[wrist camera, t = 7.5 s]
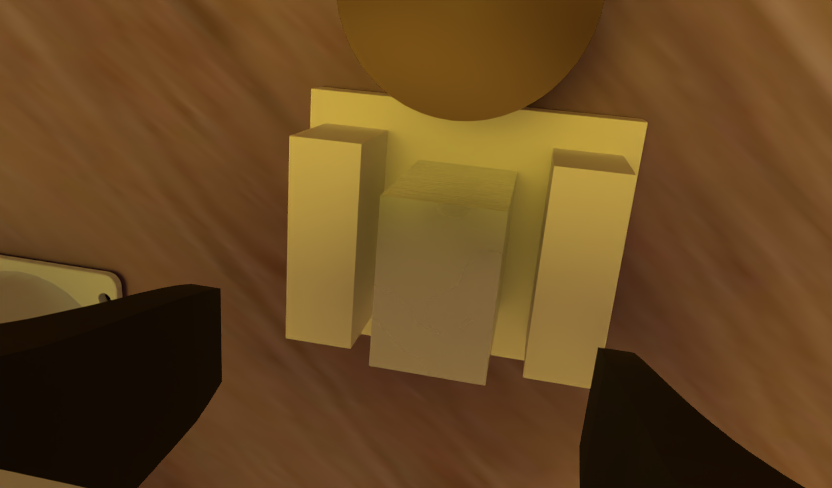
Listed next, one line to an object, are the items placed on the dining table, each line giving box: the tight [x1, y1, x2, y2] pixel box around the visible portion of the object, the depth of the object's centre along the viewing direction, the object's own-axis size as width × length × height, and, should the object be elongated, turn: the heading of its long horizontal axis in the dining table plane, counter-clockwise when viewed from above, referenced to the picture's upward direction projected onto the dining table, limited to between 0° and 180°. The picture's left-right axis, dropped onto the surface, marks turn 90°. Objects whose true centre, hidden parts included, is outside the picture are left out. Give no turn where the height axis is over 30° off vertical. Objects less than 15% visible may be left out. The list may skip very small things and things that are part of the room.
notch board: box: [286, 87, 648, 389], centre depth 19 cm, size 8×10×4 cm
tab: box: [369, 160, 518, 386], centre depth 18 cm, size 3×4×5 cm, turn 175°
